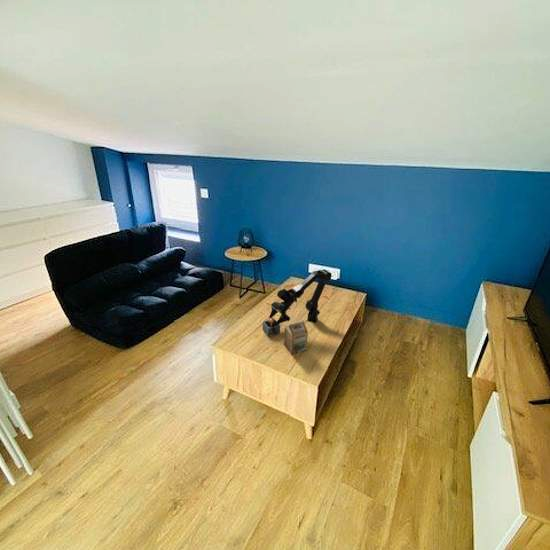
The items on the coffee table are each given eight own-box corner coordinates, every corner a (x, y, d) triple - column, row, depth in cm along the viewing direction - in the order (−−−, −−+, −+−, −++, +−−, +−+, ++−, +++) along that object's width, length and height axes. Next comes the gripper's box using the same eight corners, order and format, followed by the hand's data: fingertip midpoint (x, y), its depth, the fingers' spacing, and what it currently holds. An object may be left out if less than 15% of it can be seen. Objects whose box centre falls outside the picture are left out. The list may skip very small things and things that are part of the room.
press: (274, 326, 208) (274, 318, 205) (281, 335, 199) (281, 326, 196) (262, 329, 204) (262, 321, 201) (269, 338, 195) (269, 330, 192)
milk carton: (291, 354, 180) (292, 329, 172) (284, 344, 189) (284, 319, 181) (306, 350, 184) (308, 325, 176) (298, 341, 193) (300, 316, 185)
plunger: (273, 326, 206) (273, 315, 202) (277, 331, 201) (277, 320, 197) (264, 329, 203) (264, 318, 200) (269, 334, 198) (269, 323, 194)
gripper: (273, 292, 202) (259, 309, 202) (286, 304, 187) (271, 323, 187) (283, 299, 209) (269, 316, 209) (296, 312, 194) (281, 330, 194)
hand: (272, 321), depth 199 cm, fingers open, 9 cm apart
